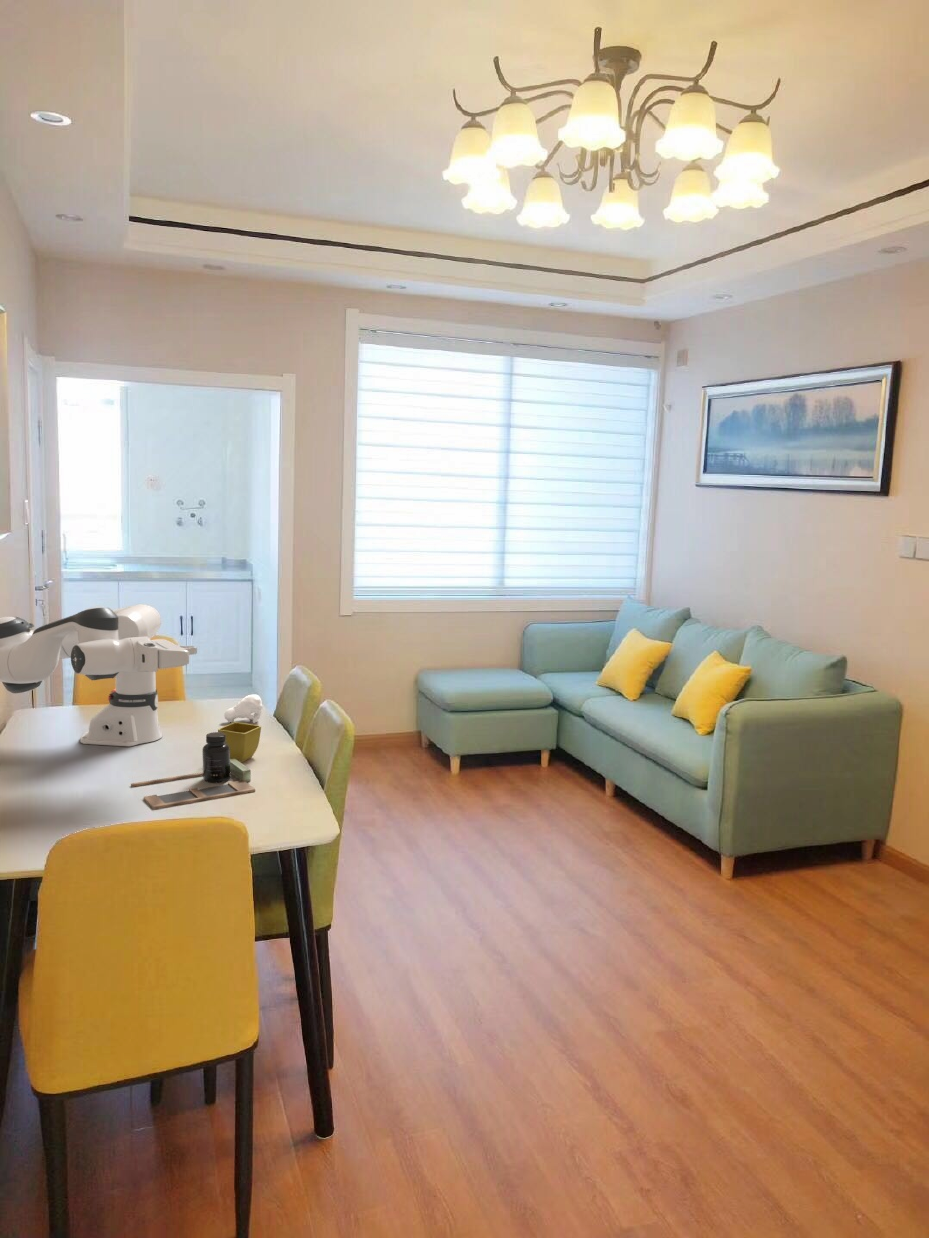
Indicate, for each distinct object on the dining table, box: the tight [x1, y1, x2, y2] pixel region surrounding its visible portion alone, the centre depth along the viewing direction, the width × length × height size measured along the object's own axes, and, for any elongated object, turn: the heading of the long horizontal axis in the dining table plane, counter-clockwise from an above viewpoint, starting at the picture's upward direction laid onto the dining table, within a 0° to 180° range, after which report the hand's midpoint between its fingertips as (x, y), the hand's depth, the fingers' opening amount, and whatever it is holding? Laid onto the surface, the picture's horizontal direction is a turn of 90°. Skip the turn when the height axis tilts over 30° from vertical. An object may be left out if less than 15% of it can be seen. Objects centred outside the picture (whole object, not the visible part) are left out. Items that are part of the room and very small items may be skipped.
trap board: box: [130, 759, 256, 810], centre depth 229 cm, size 27×19×3 cm
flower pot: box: [217, 721, 262, 763], centre depth 253 cm, size 9×9×9 cm
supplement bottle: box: [202, 731, 231, 784], centre depth 235 cm, size 7×7×12 cm
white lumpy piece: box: [223, 694, 263, 724], centre depth 291 cm, size 6×8×12 cm
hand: (195, 649), depth 241 cm, fingers closed
